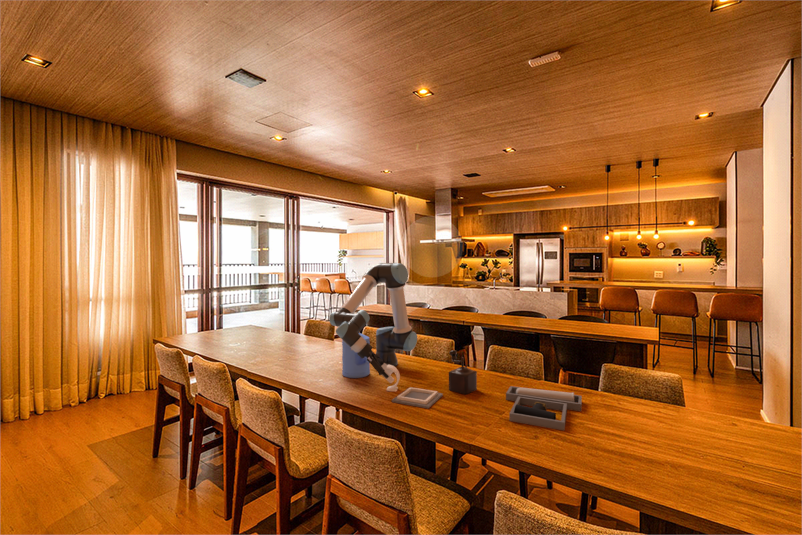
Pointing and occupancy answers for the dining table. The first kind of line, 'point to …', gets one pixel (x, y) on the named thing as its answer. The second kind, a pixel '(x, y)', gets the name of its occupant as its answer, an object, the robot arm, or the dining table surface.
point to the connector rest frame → (538, 420)
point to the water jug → (354, 361)
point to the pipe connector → (535, 411)
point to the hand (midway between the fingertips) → (392, 377)
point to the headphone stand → (394, 369)
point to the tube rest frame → (570, 405)
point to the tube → (546, 394)
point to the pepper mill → (462, 377)
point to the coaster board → (418, 397)
